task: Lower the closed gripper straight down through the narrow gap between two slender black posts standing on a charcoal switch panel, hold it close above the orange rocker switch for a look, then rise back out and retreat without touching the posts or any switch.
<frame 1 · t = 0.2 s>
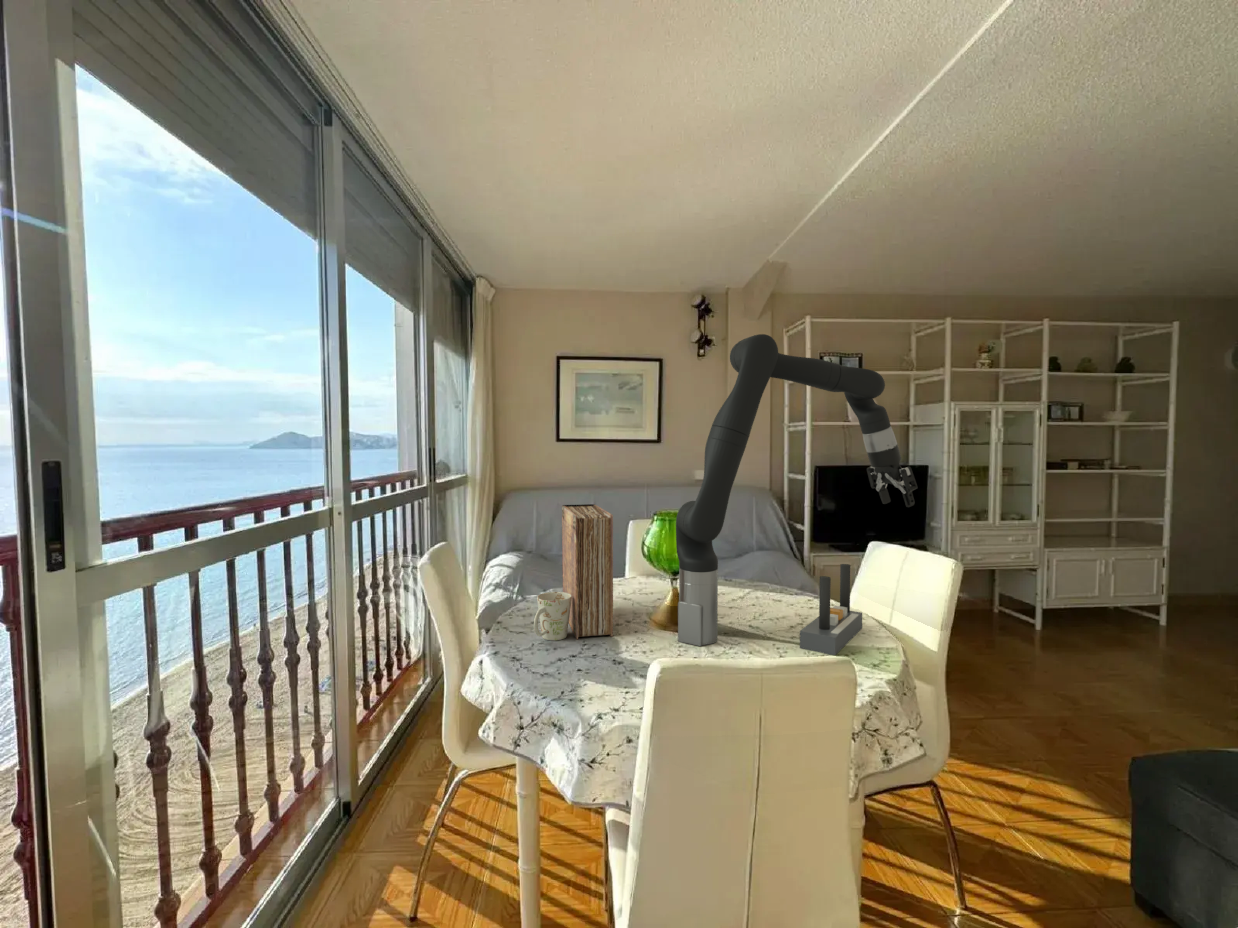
hand: (898, 504, 155), 31 cm above the table, fingers open, 8 cm apart
mug: (550, 640, 144), on the table
orange paddle: (835, 614, 146), point 5 cm above the table, hinge at 0.0°
switch panel: (832, 637, 144), on the table
book: (586, 623, 156), on the table
right cord post: (844, 611, 153), point 4 cm above the table, touching switch panel
left cord post: (824, 628, 139), point 4 cm above the table, touching switch panel
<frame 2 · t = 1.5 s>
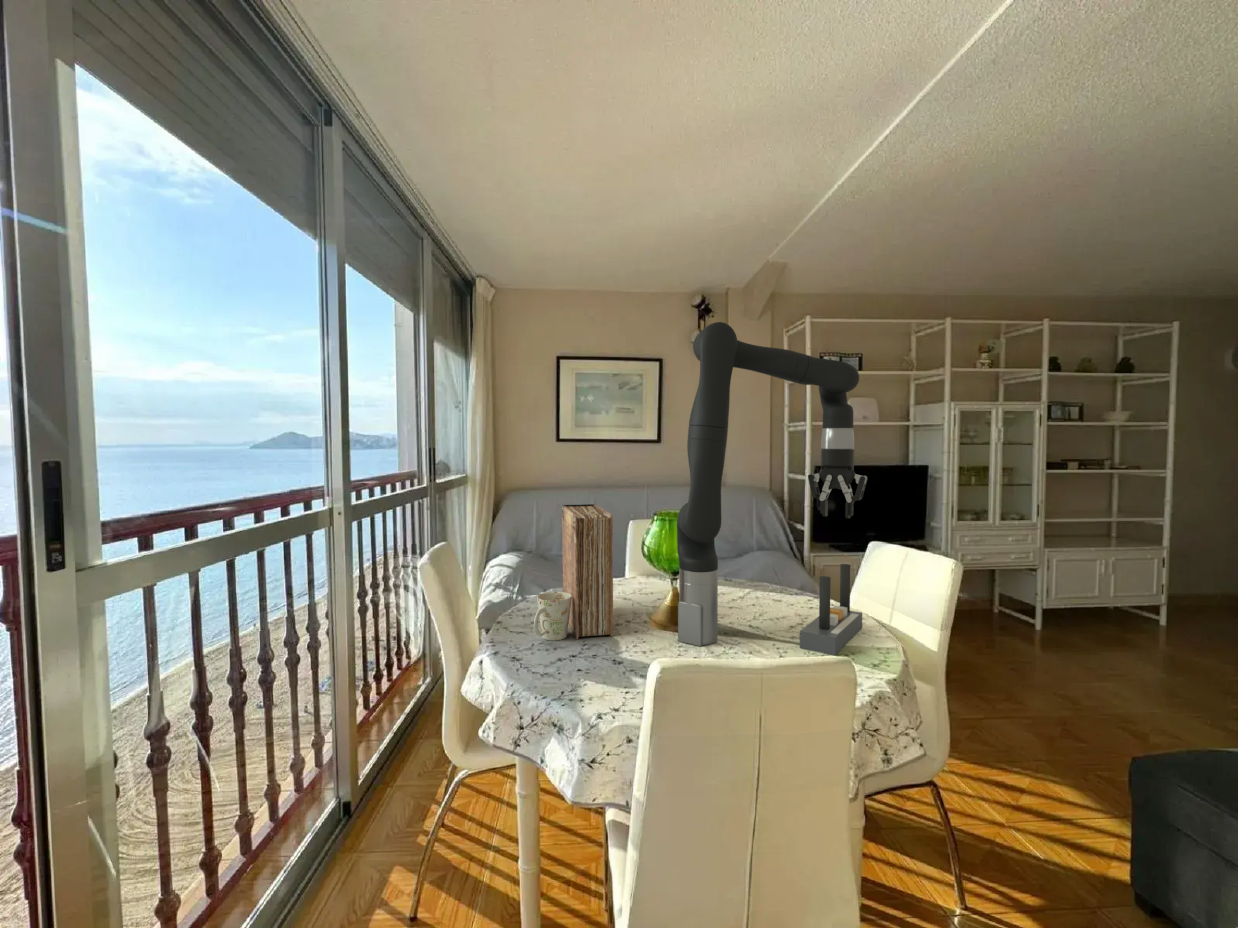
hand: (836, 516, 145), 29 cm above the table, fingers open, 5 cm apart
nothing on the table moved.
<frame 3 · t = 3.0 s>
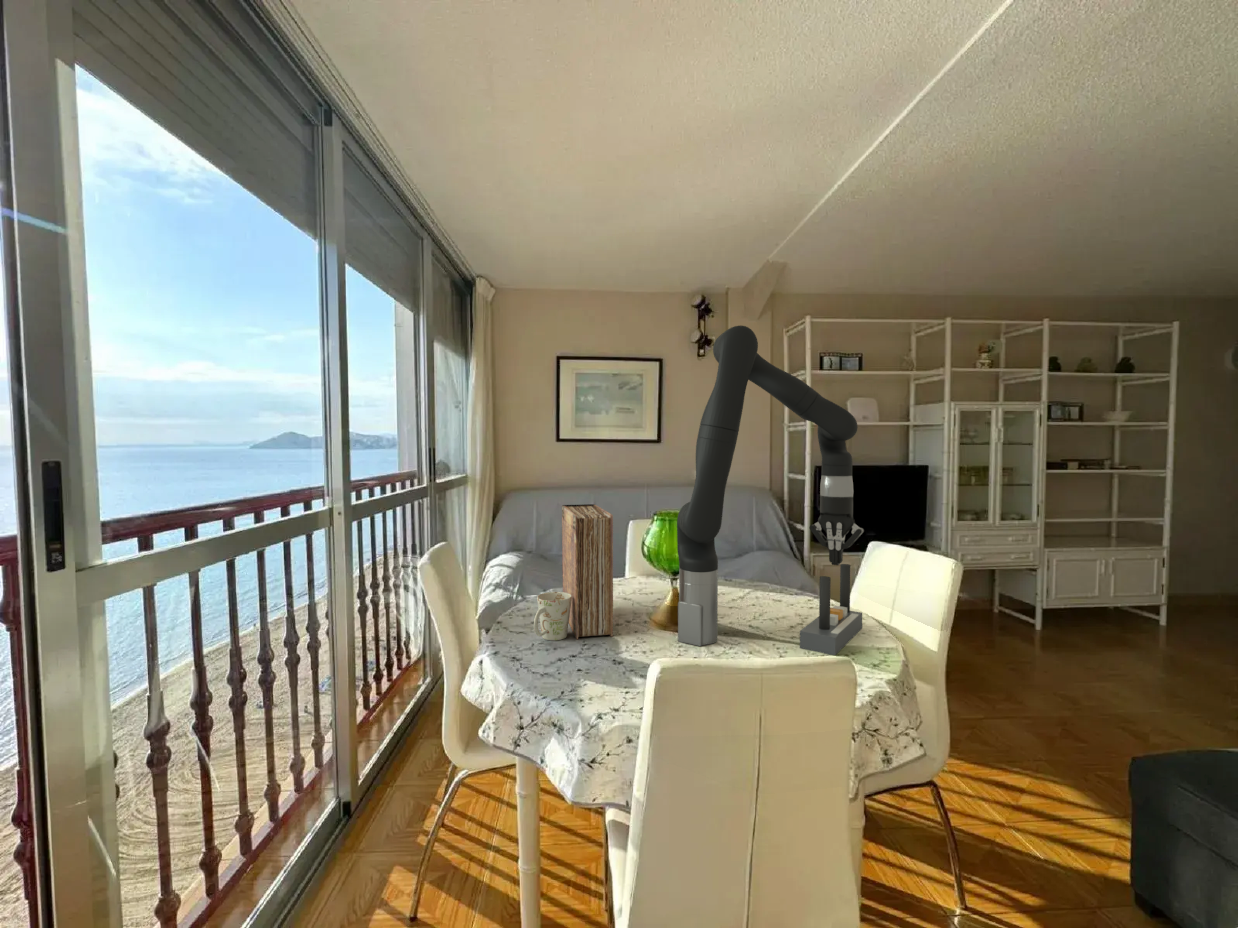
hand: (835, 564, 145), 18 cm above the table, fingers closed
nothing on the table moved.
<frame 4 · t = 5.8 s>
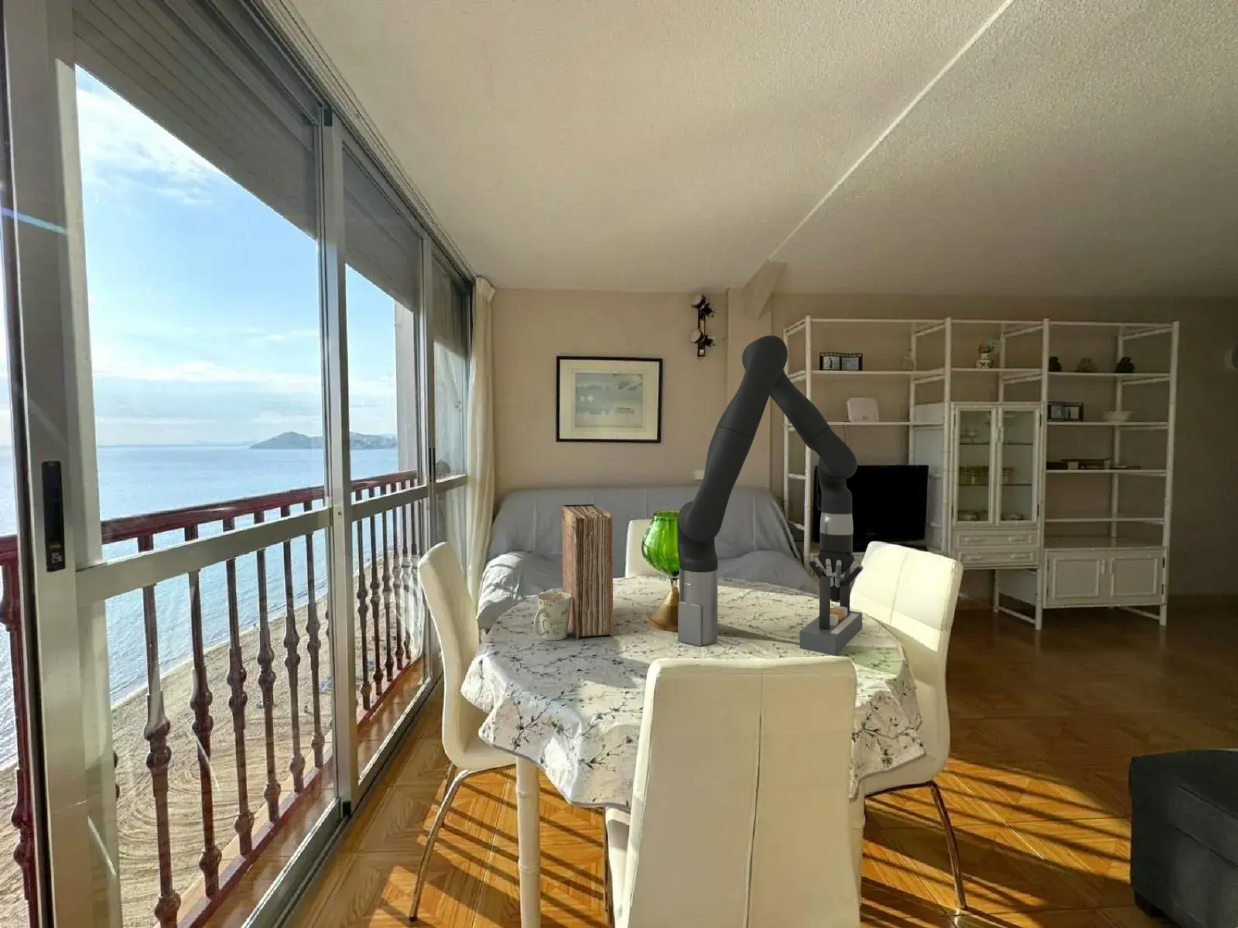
hand: (835, 601, 146), 8 cm above the table, fingers closed
nothing on the table moved.
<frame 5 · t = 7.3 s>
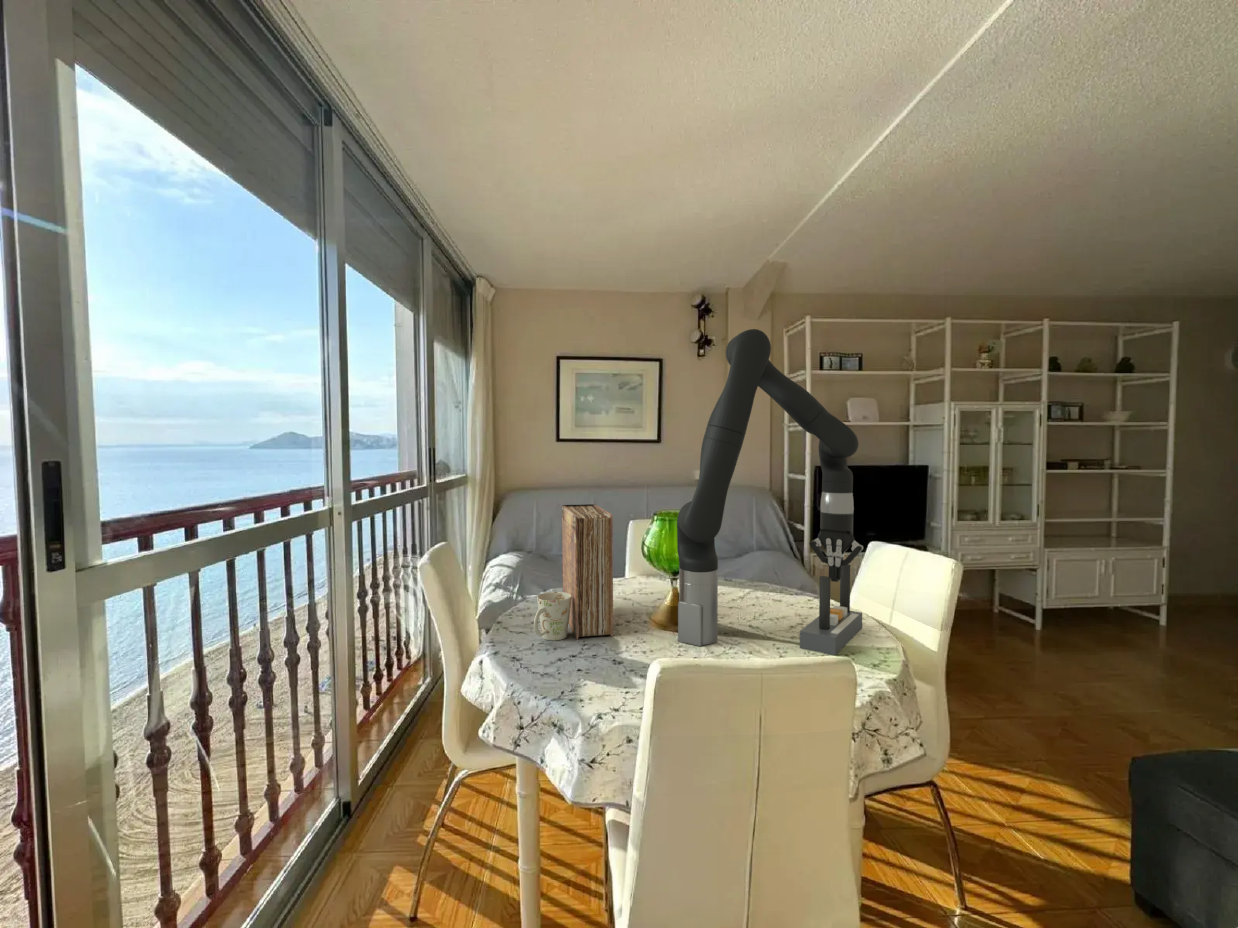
hand: (835, 581, 146), 14 cm above the table, fingers closed
nothing on the table moved.
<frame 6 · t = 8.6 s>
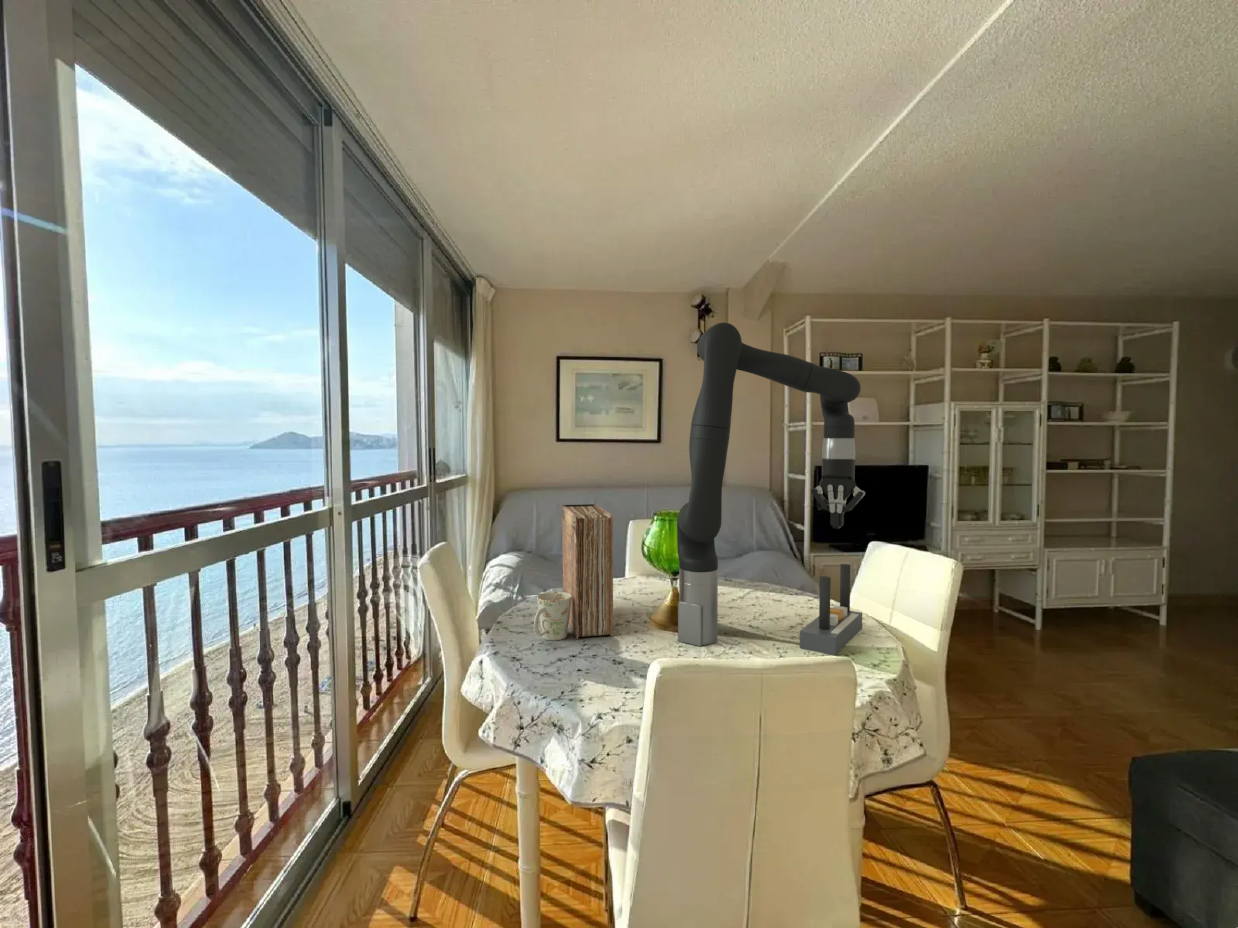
hand: (836, 528, 145), 27 cm above the table, fingers closed
nothing on the table moved.
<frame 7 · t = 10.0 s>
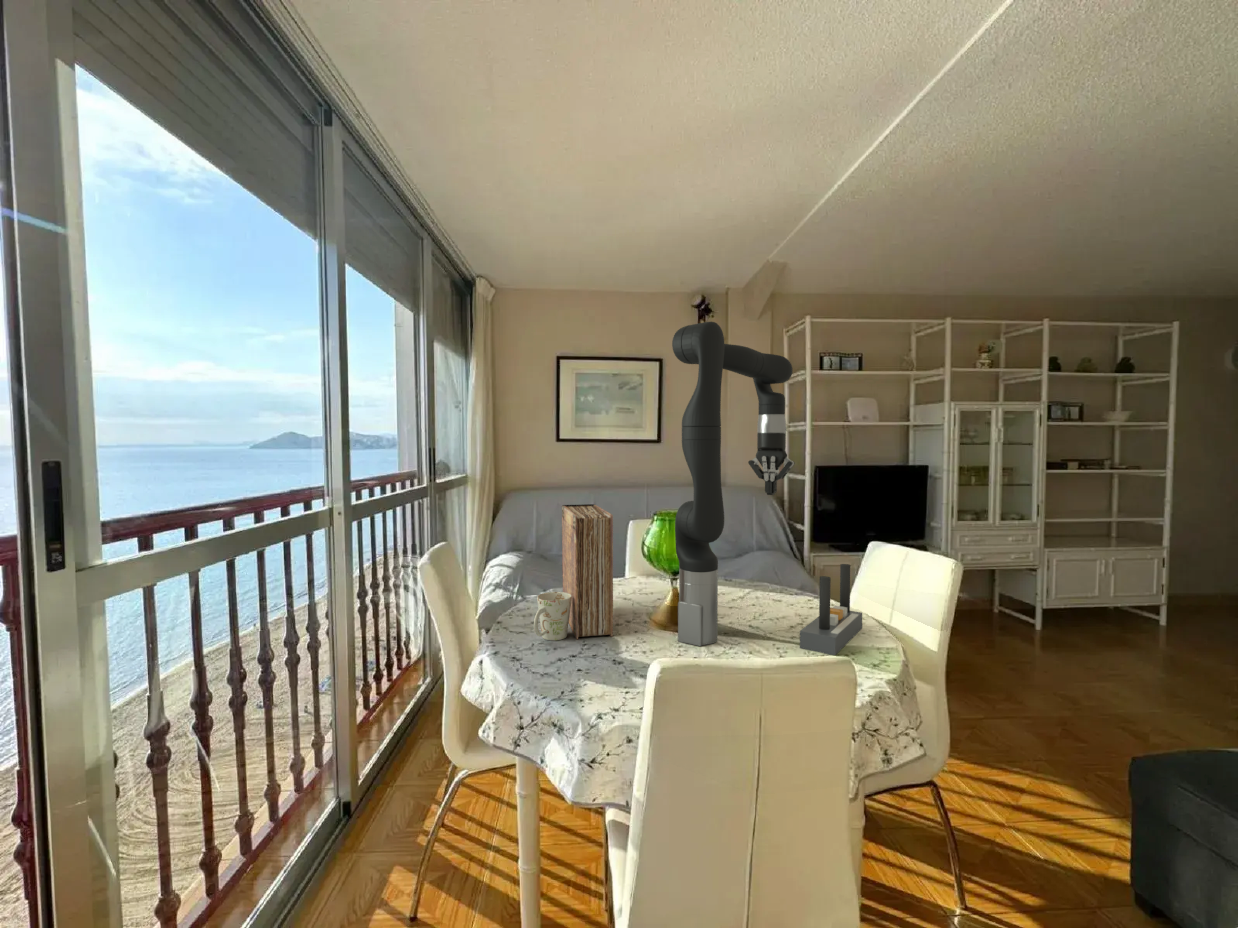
hand: (770, 494, 163), 33 cm above the table, fingers closed
nothing on the table moved.
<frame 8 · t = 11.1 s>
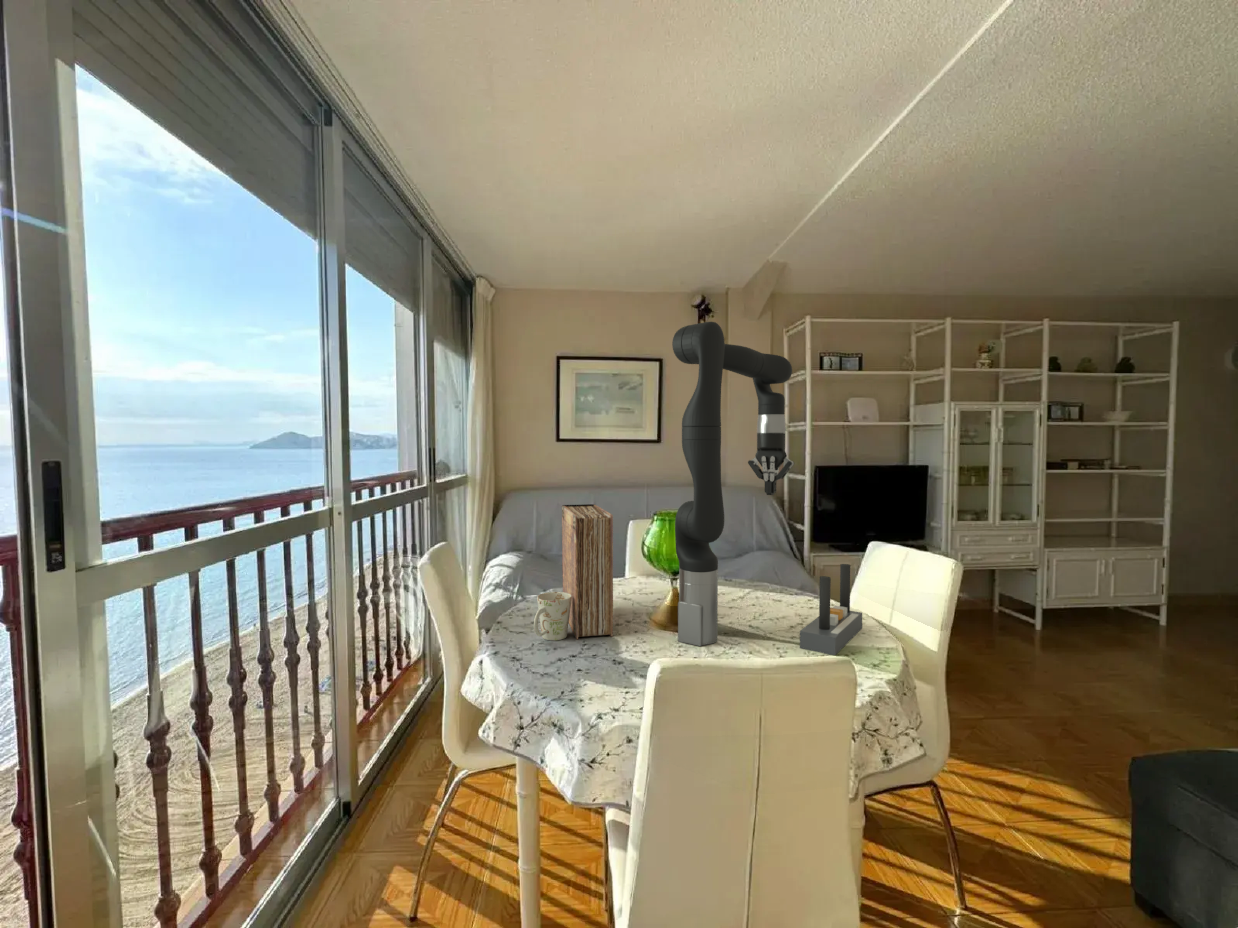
hand: (770, 494, 163), 33 cm above the table, fingers closed
nothing on the table moved.
at the end: left cord post moved 0.1 cm from its start; right cord post moved 0.1 cm from its start; orange paddle at +0° (first picture: +0°) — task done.
